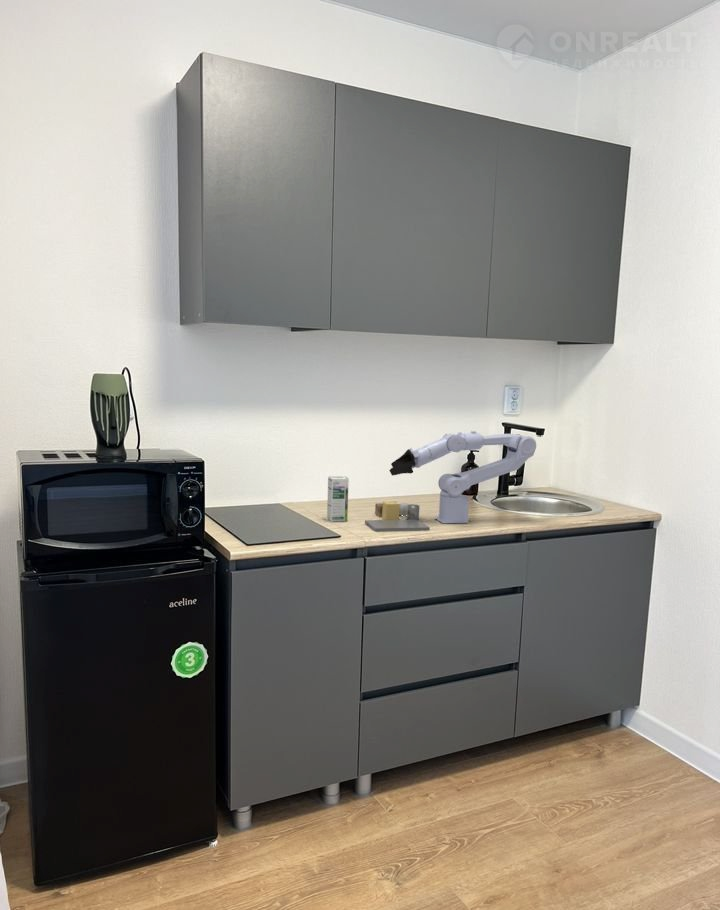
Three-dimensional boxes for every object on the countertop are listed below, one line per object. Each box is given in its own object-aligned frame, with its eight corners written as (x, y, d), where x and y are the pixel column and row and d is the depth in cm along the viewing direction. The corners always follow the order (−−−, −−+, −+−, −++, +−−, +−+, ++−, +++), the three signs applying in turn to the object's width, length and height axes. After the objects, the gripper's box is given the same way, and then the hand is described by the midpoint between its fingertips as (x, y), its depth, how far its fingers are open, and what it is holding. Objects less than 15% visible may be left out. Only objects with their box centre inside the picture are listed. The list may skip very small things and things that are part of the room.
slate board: (416, 522, 234) (417, 519, 233) (429, 530, 222) (429, 527, 222) (364, 523, 229) (365, 520, 229) (375, 531, 217) (375, 528, 217)
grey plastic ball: (406, 514, 247) (407, 503, 246) (410, 516, 243) (411, 505, 242) (395, 514, 246) (396, 503, 245) (399, 516, 242) (400, 505, 241)
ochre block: (394, 518, 238) (395, 501, 237) (398, 521, 234) (399, 504, 233) (382, 519, 237) (382, 501, 236) (386, 521, 233) (386, 504, 232)
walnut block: (388, 514, 246) (389, 503, 245) (393, 517, 241) (393, 506, 240) (375, 514, 244) (375, 503, 244) (379, 517, 240) (379, 506, 239)
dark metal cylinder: (416, 518, 240) (417, 504, 239) (420, 521, 236) (421, 506, 235) (405, 518, 239) (406, 504, 238) (409, 521, 235) (409, 506, 234)
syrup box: (330, 521, 229) (332, 478, 227) (326, 518, 235) (328, 475, 233) (347, 521, 231) (349, 478, 229) (343, 517, 236) (344, 475, 235)
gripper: (420, 449, 241) (384, 465, 239) (425, 436, 227) (387, 452, 225) (429, 467, 239) (393, 483, 237) (435, 455, 225) (397, 472, 223)
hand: (391, 469), depth 231 cm, fingers open, 7 cm apart
